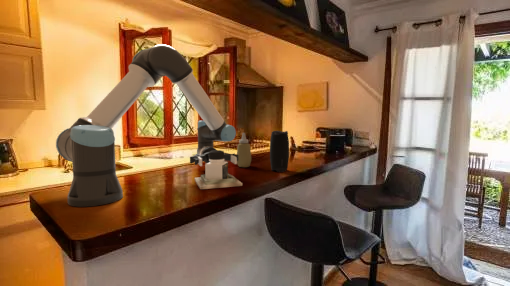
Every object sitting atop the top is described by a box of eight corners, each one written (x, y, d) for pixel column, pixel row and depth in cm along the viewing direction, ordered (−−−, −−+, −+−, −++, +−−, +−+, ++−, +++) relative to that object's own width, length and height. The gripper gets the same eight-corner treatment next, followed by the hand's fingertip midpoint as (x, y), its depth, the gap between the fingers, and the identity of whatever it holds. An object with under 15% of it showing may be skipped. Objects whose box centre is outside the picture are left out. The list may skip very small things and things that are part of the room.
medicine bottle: (222, 182, 106) (222, 151, 105) (205, 181, 108) (204, 151, 107) (228, 178, 113) (227, 149, 112) (211, 178, 115) (211, 149, 114)
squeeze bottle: (248, 168, 143) (248, 133, 141) (234, 167, 145) (233, 133, 144) (253, 165, 150) (253, 132, 149) (239, 164, 153) (239, 132, 151)
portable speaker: (270, 168, 141) (271, 130, 139) (289, 169, 139) (289, 130, 138) (268, 172, 133) (269, 131, 131) (288, 172, 131) (288, 131, 129)
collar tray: (200, 189, 101) (200, 182, 100) (194, 180, 116) (194, 174, 115) (242, 185, 106) (242, 179, 106) (231, 177, 121) (231, 171, 121)
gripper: (235, 161, 131) (249, 169, 111) (181, 164, 123) (186, 173, 103) (235, 145, 131) (249, 150, 111) (181, 147, 122) (185, 153, 103)
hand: (218, 161), depth 107 cm, fingers open, 13 cm apart
